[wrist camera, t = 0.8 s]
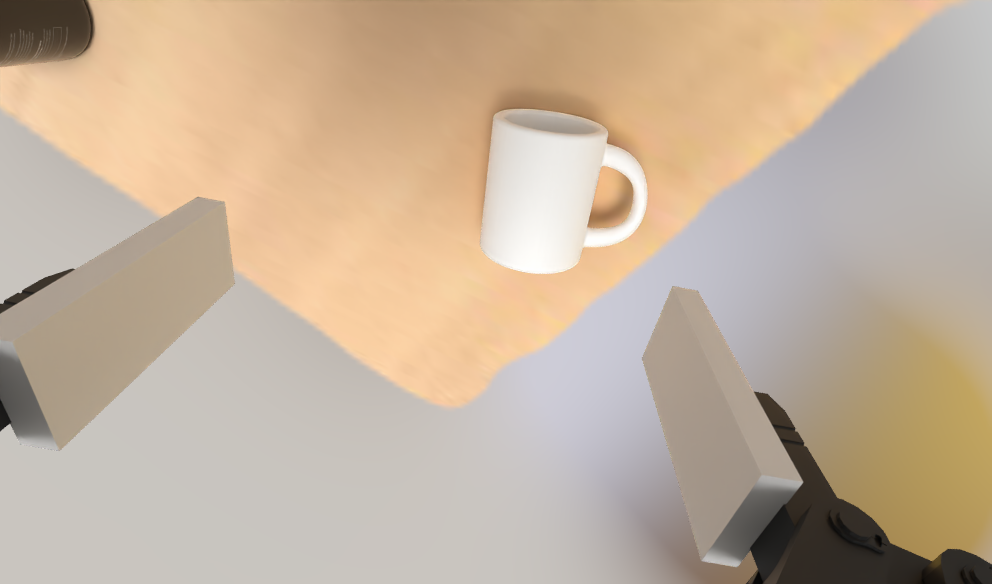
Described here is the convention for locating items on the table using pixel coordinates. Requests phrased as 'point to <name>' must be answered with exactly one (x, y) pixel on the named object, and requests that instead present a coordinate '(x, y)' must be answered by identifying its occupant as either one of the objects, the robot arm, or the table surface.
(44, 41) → the supplement bottle
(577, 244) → the mug
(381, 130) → the table surface
